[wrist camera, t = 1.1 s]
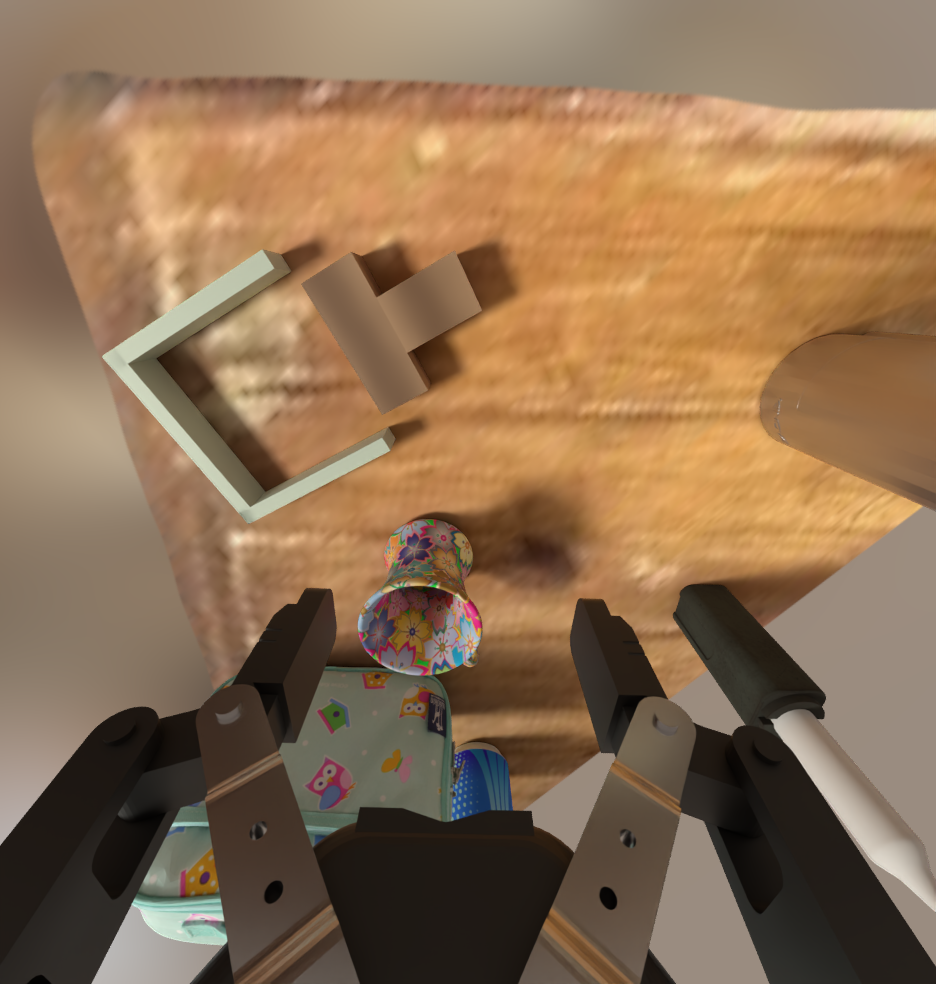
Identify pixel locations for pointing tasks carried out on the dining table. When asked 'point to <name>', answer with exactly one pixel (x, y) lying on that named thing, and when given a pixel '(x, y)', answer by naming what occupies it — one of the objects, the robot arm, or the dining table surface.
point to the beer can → (480, 780)
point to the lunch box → (321, 785)
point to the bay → (185, 419)
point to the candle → (798, 726)
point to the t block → (390, 321)
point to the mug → (423, 603)
